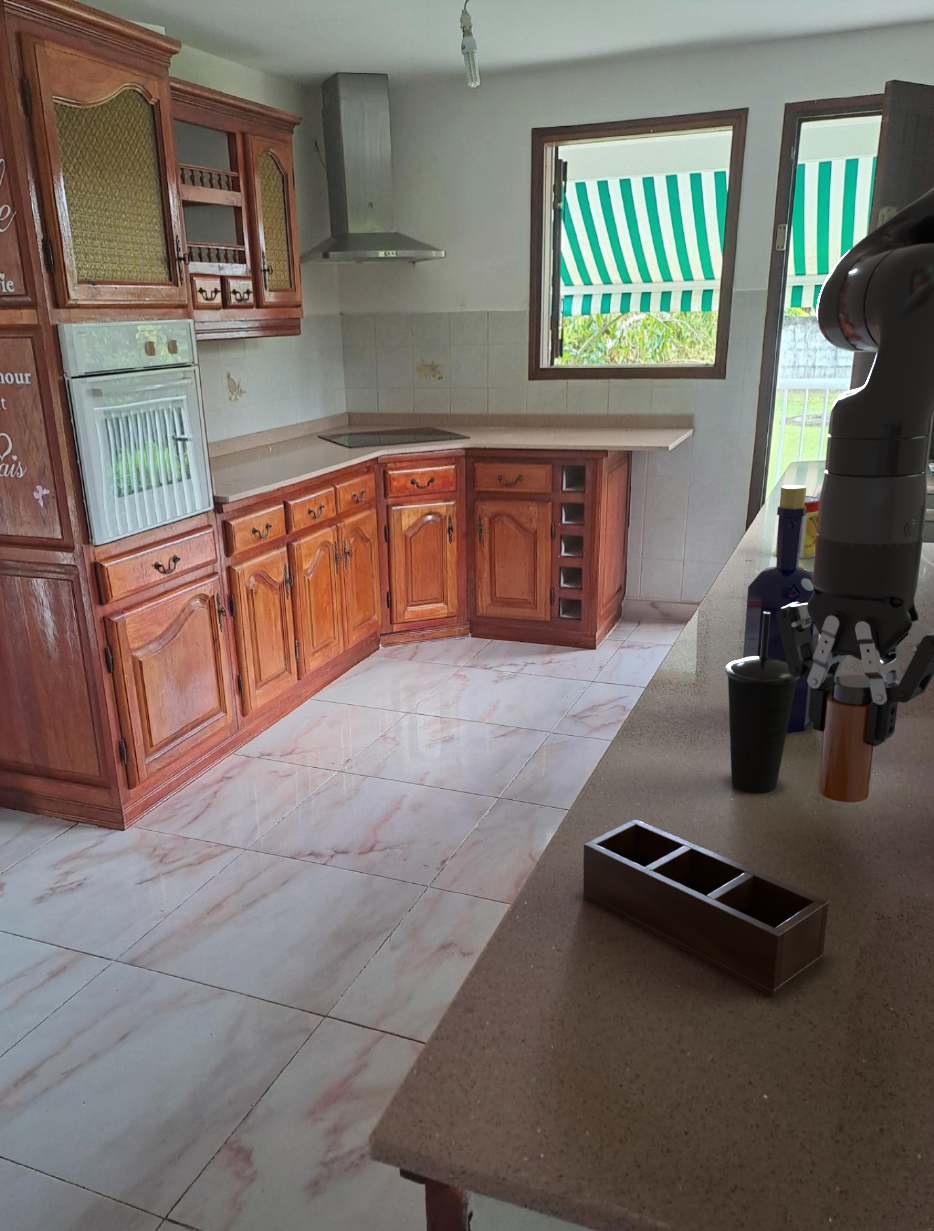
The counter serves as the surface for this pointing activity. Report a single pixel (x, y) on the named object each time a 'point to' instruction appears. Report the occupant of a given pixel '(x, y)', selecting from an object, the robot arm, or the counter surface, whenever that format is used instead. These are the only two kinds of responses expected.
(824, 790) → the spice bottle
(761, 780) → the drinking cup
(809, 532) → the canned food
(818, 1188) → the counter surface
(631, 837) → the holder
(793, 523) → the bottle
